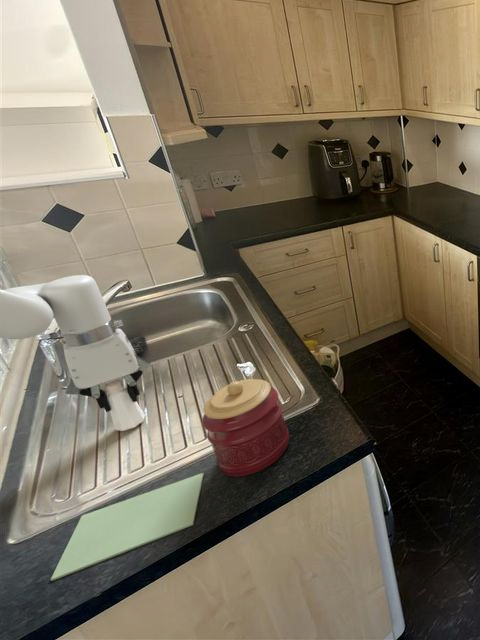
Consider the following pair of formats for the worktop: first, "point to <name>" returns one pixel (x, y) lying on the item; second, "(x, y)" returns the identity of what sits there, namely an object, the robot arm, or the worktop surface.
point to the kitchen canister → (245, 427)
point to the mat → (130, 524)
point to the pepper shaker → (123, 407)
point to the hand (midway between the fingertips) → (121, 402)
